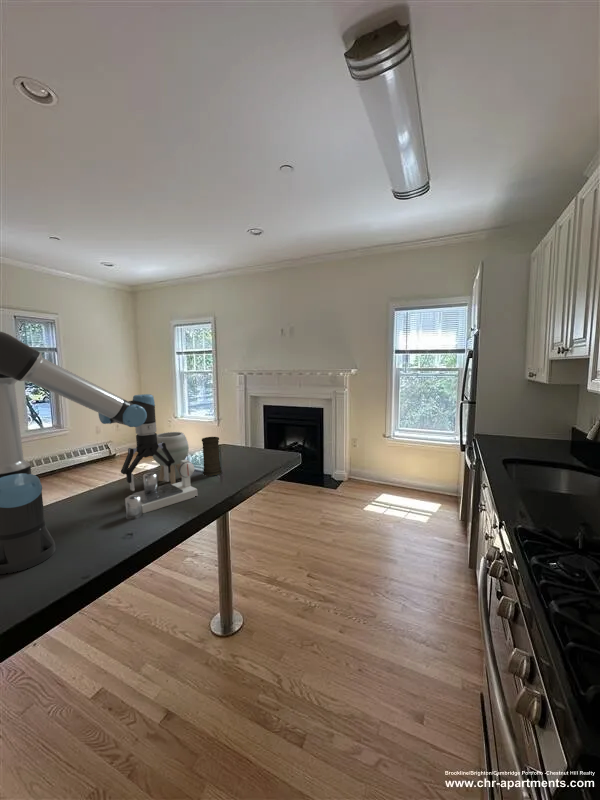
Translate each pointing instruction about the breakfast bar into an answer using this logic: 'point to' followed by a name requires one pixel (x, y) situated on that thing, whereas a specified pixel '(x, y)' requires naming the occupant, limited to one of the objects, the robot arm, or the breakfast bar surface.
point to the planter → (172, 452)
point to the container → (211, 456)
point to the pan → (159, 493)
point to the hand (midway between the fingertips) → (150, 485)
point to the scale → (185, 485)
